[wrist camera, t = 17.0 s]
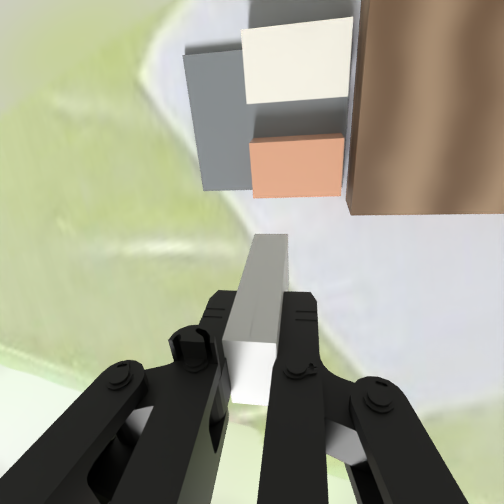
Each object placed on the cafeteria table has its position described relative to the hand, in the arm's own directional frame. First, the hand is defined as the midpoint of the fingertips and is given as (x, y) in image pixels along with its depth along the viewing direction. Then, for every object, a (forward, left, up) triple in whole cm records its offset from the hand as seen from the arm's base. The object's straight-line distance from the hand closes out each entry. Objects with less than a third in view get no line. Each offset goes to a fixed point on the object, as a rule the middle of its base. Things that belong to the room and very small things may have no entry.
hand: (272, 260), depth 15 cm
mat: (+2, -4, -18) cm, 19 cm away
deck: (-14, -4, -18) cm, 23 cm away
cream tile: (-1, -8, -18) cm, 20 cm away
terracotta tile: (-1, 0, -18) cm, 18 cm away
